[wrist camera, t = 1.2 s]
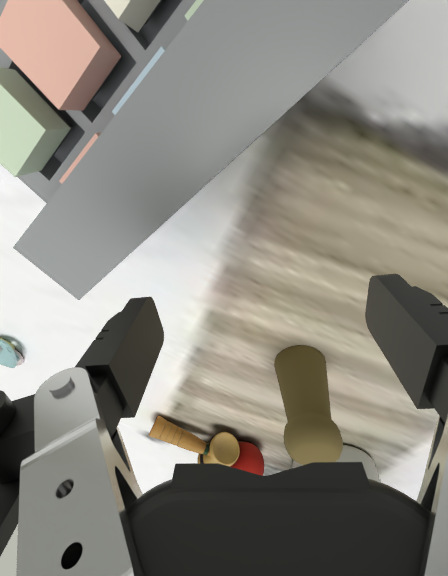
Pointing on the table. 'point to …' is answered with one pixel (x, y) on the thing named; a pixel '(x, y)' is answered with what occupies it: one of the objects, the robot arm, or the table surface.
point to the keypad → (176, 117)
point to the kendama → (212, 447)
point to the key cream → (134, 11)
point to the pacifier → (9, 354)
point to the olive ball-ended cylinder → (307, 406)
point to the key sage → (27, 125)
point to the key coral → (58, 49)
